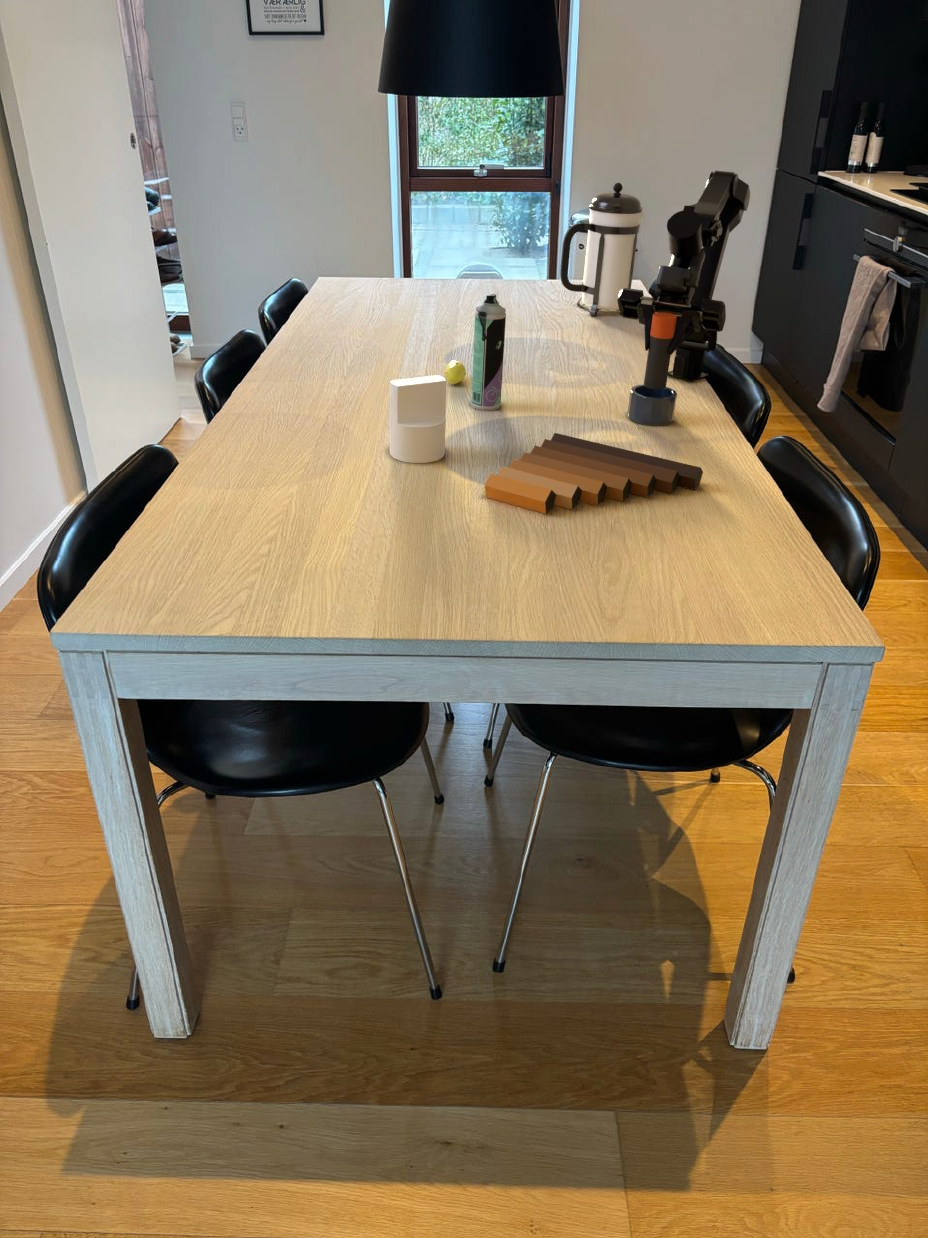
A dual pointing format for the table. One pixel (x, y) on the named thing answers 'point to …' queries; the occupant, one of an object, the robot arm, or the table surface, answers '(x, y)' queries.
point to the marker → (659, 350)
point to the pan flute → (585, 475)
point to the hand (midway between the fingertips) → (657, 351)
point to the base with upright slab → (418, 419)
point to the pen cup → (651, 405)
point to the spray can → (488, 354)
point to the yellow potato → (455, 372)
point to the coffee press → (605, 249)
